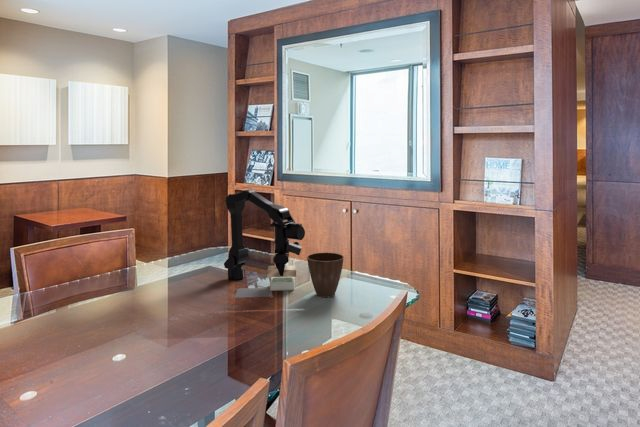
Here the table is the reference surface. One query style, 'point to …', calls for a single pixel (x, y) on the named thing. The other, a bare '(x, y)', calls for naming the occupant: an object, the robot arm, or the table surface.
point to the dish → (281, 283)
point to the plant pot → (325, 272)
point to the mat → (252, 292)
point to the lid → (288, 272)
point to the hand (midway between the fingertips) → (282, 273)
